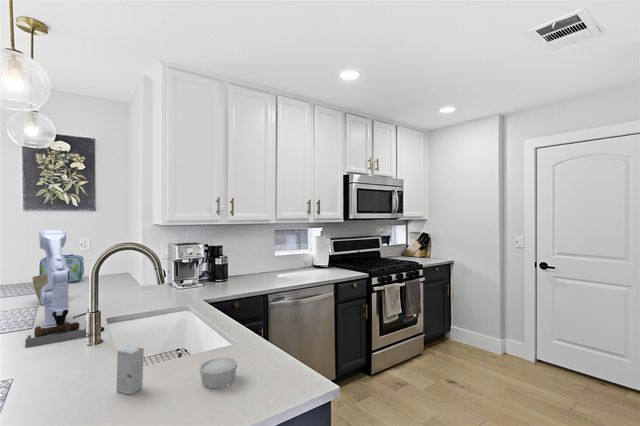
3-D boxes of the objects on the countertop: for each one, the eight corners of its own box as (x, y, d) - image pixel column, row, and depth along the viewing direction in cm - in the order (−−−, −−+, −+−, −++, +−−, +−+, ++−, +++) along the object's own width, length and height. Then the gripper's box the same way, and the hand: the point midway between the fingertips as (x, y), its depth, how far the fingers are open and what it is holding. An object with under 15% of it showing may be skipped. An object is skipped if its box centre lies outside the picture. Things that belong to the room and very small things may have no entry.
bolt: (78, 334, 151) (35, 343, 139) (76, 326, 154) (33, 334, 142) (81, 324, 149) (37, 332, 137) (78, 316, 152) (35, 324, 140)
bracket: (28, 341, 137) (28, 334, 137) (87, 331, 148) (87, 324, 148) (25, 347, 131) (25, 339, 131) (88, 336, 143) (88, 329, 143)
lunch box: (85, 279, 263) (85, 252, 263) (82, 282, 253) (81, 254, 253) (43, 282, 252) (43, 254, 252) (38, 285, 242) (38, 256, 242)
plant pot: (64, 304, 193) (64, 276, 193) (30, 308, 184) (30, 279, 184) (66, 298, 205) (66, 272, 205) (34, 302, 197) (34, 275, 197)
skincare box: (115, 391, 99) (115, 350, 99) (129, 384, 103) (129, 344, 103) (130, 395, 96) (130, 353, 96) (144, 388, 101) (144, 347, 101)
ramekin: (207, 373, 110) (207, 356, 110) (241, 373, 110) (241, 357, 110) (193, 391, 99) (193, 373, 99) (231, 391, 99) (231, 373, 99)
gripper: (50, 295, 154) (50, 325, 154) (47, 302, 142) (47, 334, 142) (69, 292, 158) (69, 322, 158) (68, 299, 146) (68, 331, 146)
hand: (60, 327), depth 150 cm, fingers closed
